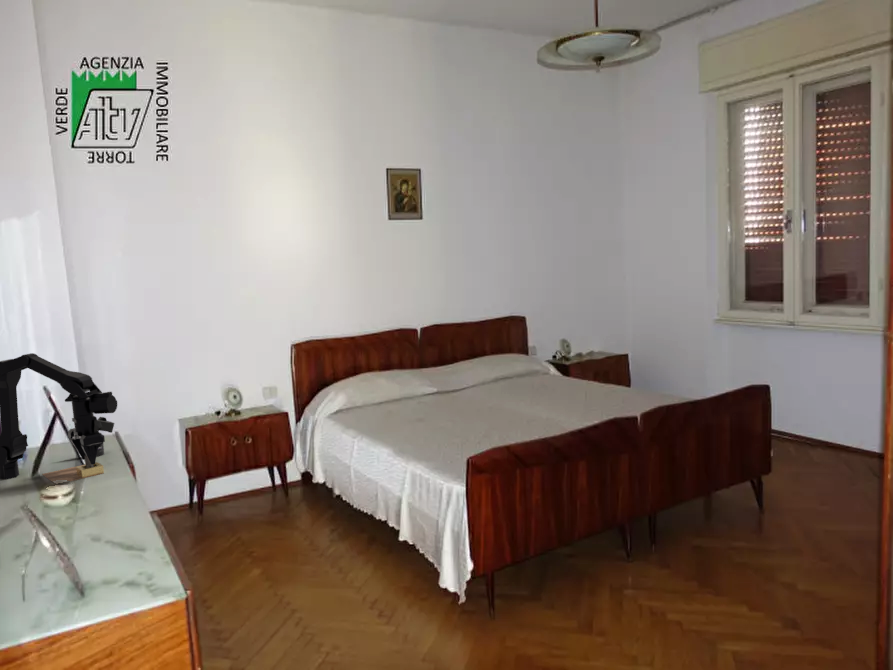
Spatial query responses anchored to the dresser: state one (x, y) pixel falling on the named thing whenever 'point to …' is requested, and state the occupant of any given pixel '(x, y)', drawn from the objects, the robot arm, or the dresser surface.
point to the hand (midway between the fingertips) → (88, 461)
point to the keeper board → (68, 473)
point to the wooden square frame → (89, 470)
